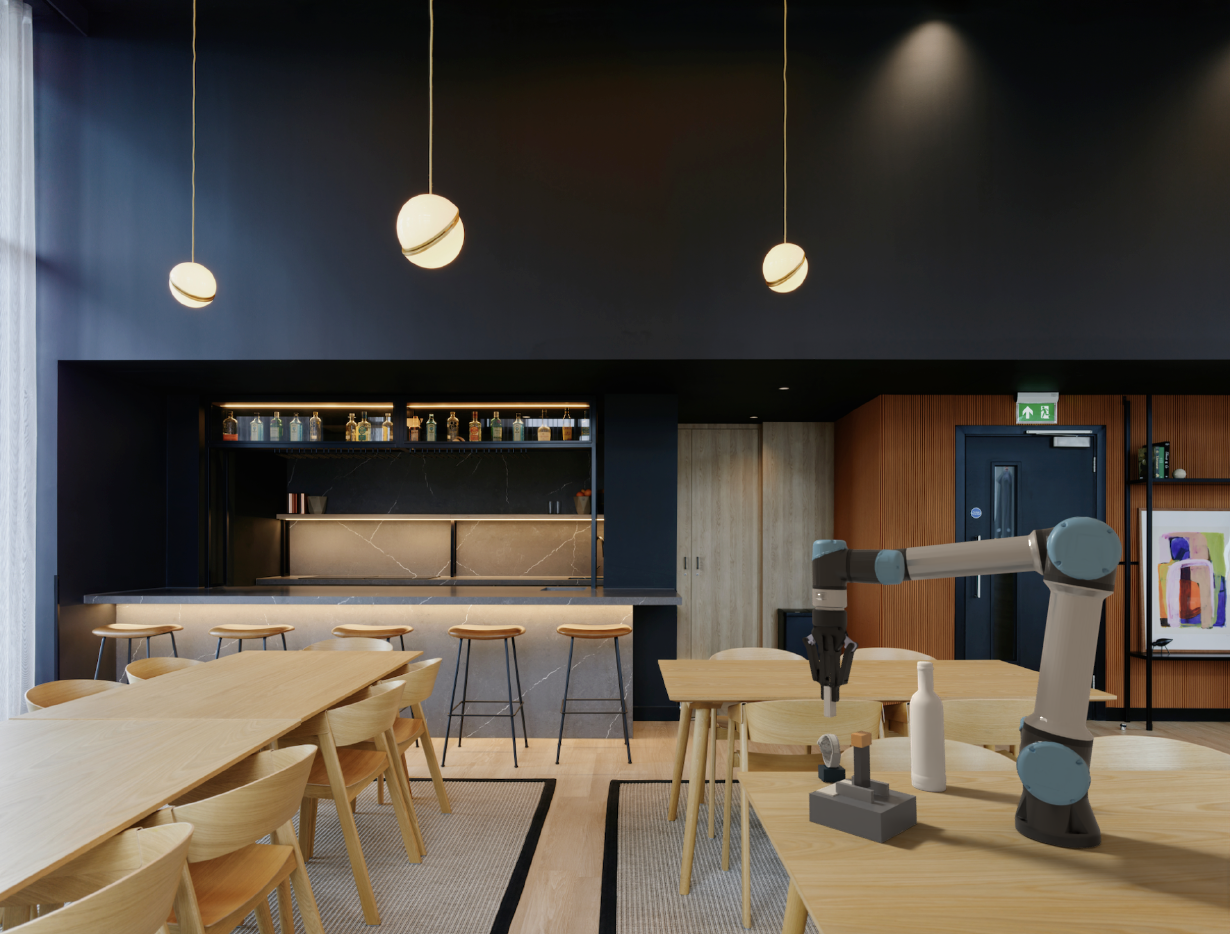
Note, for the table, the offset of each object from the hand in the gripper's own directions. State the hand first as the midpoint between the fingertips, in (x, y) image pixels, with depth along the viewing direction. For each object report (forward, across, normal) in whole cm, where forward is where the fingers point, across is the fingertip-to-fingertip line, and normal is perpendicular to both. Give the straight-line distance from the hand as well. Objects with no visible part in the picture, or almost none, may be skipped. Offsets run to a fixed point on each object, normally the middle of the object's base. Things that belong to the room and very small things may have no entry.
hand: (830, 715), depth 163 cm
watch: (+21, -12, +22) cm, 33 cm away
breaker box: (+21, +8, 0) cm, 22 cm away
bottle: (+21, +6, +35) cm, 41 cm away
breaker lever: (+15, +8, 0) cm, 16 cm away
